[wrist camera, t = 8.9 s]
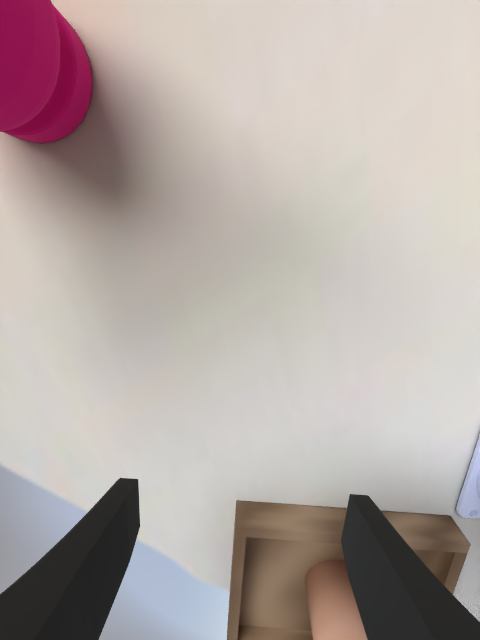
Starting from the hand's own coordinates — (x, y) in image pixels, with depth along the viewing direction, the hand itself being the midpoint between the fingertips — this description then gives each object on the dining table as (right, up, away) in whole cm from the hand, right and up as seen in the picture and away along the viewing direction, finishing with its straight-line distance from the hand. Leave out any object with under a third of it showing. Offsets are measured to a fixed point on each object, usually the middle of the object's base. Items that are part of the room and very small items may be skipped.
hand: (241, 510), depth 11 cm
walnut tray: (+7, -14, +15) cm, 21 cm away
